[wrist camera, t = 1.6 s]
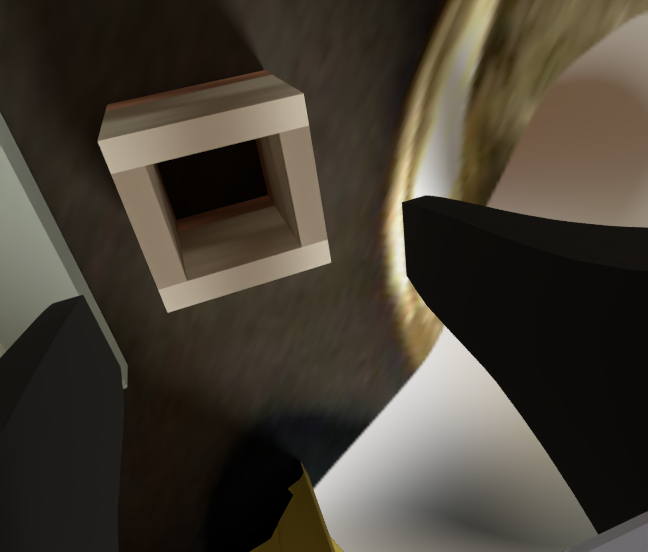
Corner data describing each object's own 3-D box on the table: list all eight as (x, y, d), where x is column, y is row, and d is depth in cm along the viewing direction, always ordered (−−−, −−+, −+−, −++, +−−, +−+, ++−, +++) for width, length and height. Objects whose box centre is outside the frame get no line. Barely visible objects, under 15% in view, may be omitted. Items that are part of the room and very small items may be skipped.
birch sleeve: (160, 245, 20) (167, 312, 15) (106, 104, 16) (97, 141, 12) (292, 209, 21) (331, 262, 16) (264, 70, 18) (303, 93, 13)
